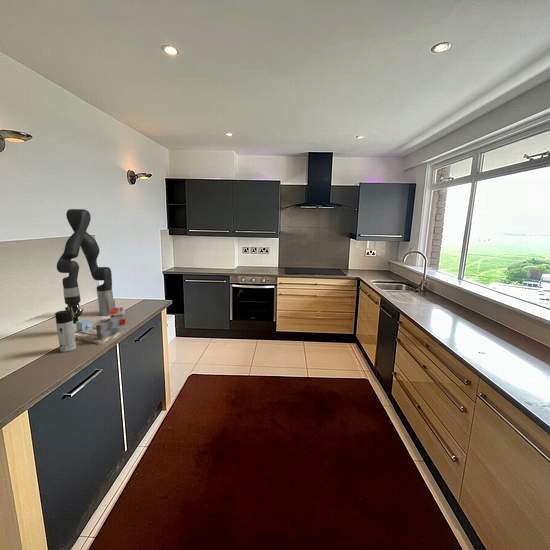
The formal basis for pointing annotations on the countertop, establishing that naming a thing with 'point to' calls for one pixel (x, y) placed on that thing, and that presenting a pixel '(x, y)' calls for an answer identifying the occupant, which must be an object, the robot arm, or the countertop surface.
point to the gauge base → (101, 332)
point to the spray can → (65, 330)
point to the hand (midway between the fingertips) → (75, 323)
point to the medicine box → (118, 314)
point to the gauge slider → (84, 325)
